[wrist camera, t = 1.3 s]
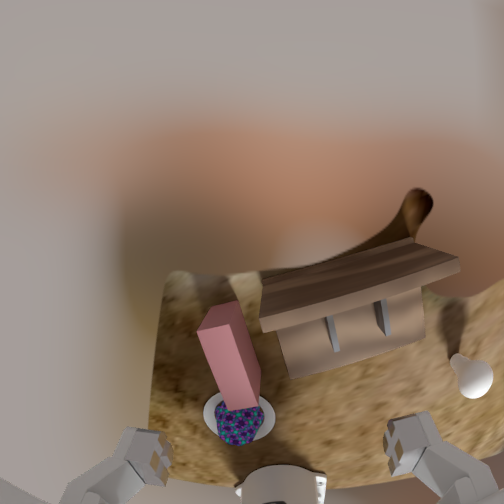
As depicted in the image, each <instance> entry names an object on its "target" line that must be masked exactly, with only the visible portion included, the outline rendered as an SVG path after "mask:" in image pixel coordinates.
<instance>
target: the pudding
mask: <svg viewBox="0 0 504 504" xmlns="http://www.w3.org/2000/svg"><path fill="white" fill-rule="evenodd" d="M222 400H223V397H222V395H221V392H220V393H217V394H216V395H214V396H212V397H211V398H210V399H209V400H208V401H207V403H206V404H205V407H204V411H203V415H204V419H205V422H206V424H207V426H208V427H209V428H210V429H211V430H212V431H213V432H214V433H215V434H217V435H218V436H219V437H220V438H221V439H222V440H225V442H226V443H227V444H230V445H234V444H235V445H237V446H242V445H244V444H246V443H250V442H252V441H254V440H257V439H260V438H262V437H264V436H265V435H267V434H268V433H269V432H270V431H271V430H272V428H273V426H274V424H275V412H274V410H273V408H272V406H271V405H270V404H269V403H268V402H267V401H266V400H265V399H264V398H262V397H261V396H259V404H258V405H259V406H260V407H261V408H262V409H263V412H264V415H263V413H262V412H260V411H259V410H260V407H259V406H257V407H251V408H245V409H239V410H233V411H228V409H227V407H226V404H225V402H224V401H223V402H222V405H221V406H218V407H217V408H216V406H217V405H218V403H220V402H221V401H222ZM215 408H216V410H215ZM214 411H215V414H216V419H215V416H214ZM264 416H265V418H264ZM263 419H264V422H263V424H262V425H261V423H262V421H263ZM260 425H261V426H260Z"/></svg>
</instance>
